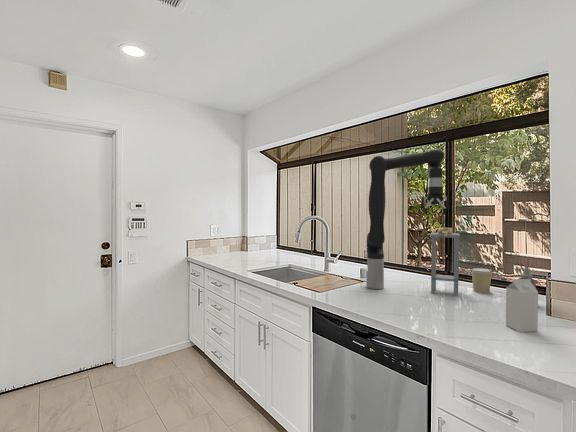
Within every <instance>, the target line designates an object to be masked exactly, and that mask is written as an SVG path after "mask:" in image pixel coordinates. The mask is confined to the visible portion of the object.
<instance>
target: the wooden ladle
mask: <svg viewBox="0 0 576 432" xmlns="http://www.w3.org/2000/svg"><path fill="white" fill-rule="evenodd" d="M437 233H438V234H442V236H447V234H452V233H453V228H452V227H437Z"/></svg>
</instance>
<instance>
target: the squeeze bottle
mask: <svg viewBox="0 0 576 432" xmlns="http://www.w3.org/2000/svg"><path fill="white" fill-rule="evenodd" d="M519 275H520V277H518V279H531V283H532V284H533V286H534V287H535V288H536V289H537V287H536V281H535V279H534V278H533V274H531V273H530V269H529V266H524V268H523V272H522V273H520V274H519Z"/></svg>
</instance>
